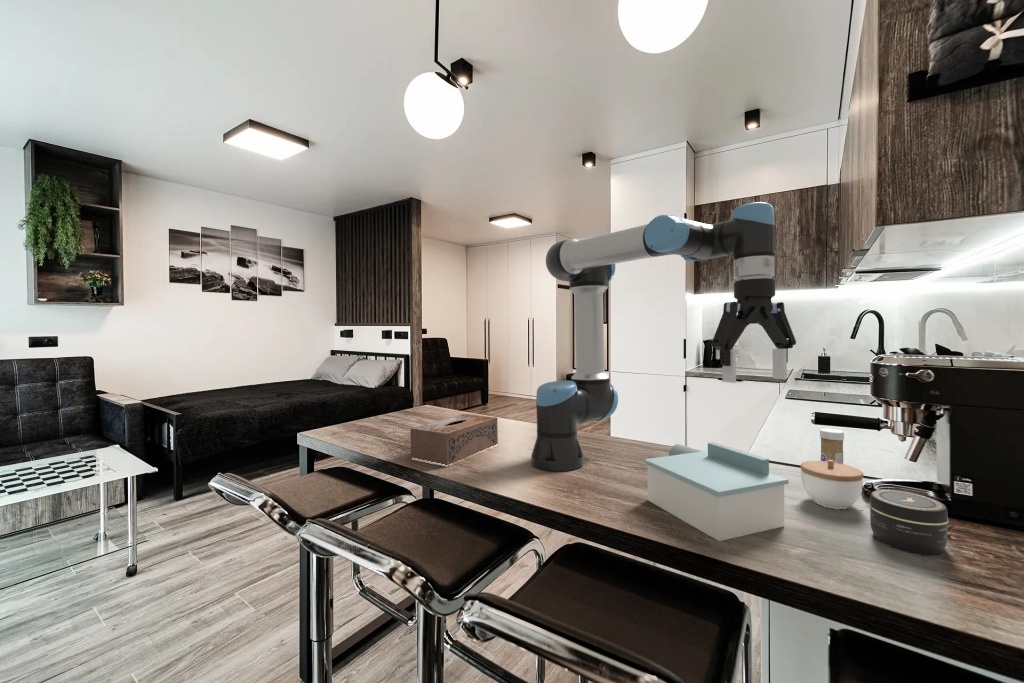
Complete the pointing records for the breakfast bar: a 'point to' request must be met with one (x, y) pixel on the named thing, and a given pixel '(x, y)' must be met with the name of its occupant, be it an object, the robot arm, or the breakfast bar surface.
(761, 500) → the box
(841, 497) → the lidded jar
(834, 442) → the sprinkles bottle
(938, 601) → the breakfast bar surface
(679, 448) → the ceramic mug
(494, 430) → the tissue box cover
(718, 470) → the lid
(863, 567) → the breakfast bar surface
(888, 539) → the jar
